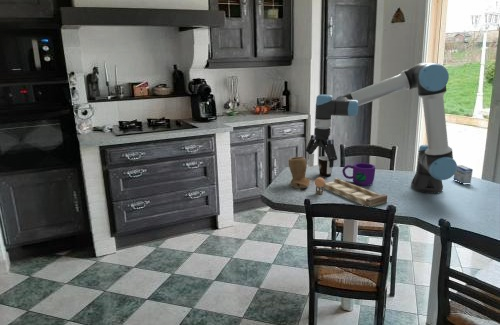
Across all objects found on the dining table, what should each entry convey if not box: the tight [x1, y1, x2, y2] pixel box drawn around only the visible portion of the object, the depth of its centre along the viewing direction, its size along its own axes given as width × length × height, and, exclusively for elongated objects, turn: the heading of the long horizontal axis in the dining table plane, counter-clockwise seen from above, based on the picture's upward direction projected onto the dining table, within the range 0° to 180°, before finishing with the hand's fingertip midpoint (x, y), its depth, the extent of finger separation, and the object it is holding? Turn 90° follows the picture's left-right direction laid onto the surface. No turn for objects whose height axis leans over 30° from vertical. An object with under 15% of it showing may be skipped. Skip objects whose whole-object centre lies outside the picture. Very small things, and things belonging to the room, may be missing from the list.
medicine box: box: [453, 164, 474, 184], centre depth 211 cm, size 8×4×9 cm, turn 13°
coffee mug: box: [318, 155, 332, 178], centre depth 225 cm, size 12×9×10 cm
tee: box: [315, 185, 324, 196], centre depth 196 cm, size 3×3×4 cm
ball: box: [314, 176, 326, 188], centre depth 195 cm, size 5×5×5 cm
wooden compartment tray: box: [323, 177, 388, 207], centre depth 195 cm, size 34×12×4 cm, turn 32°
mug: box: [341, 162, 376, 187], centre depth 211 cm, size 17×11×10 cm, turn 59°
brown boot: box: [288, 156, 311, 190], centre depth 207 cm, size 15×12×15 cm
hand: (319, 169), depth 193 cm, fingers open, 13 cm apart
